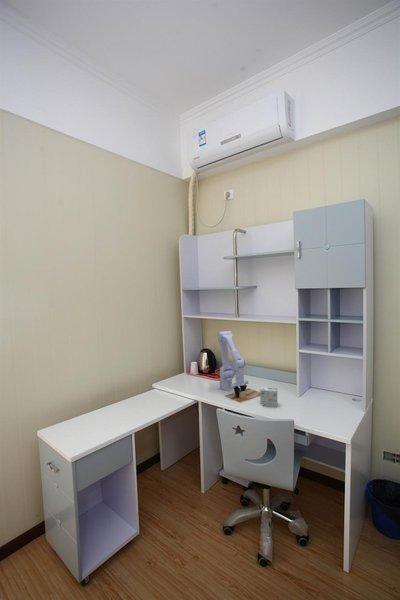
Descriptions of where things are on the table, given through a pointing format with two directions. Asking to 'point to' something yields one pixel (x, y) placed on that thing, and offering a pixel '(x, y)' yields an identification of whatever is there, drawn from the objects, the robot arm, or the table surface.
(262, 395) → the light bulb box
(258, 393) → the board
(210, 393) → the table surface
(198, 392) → the table surface
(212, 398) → the table surface
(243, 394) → the block
